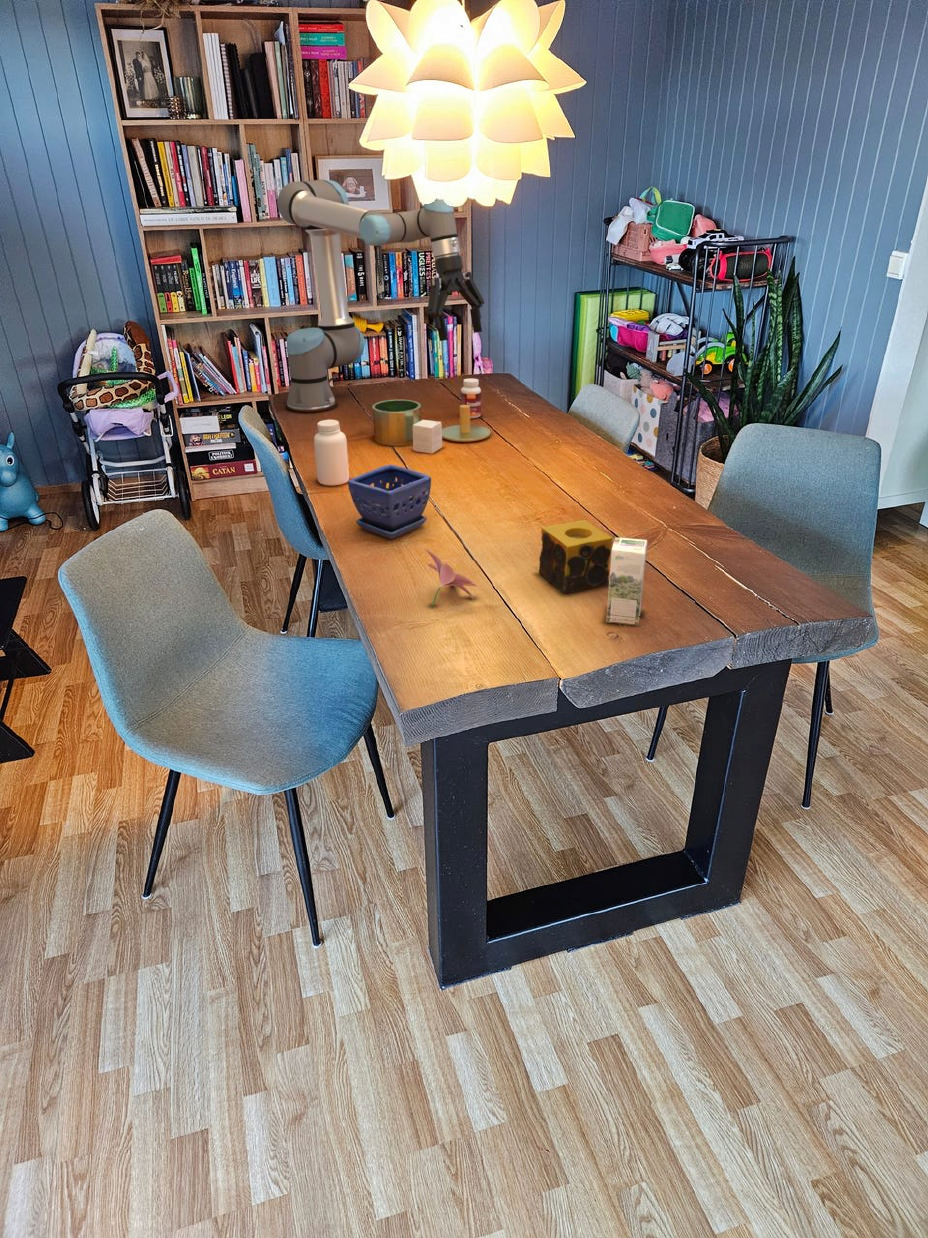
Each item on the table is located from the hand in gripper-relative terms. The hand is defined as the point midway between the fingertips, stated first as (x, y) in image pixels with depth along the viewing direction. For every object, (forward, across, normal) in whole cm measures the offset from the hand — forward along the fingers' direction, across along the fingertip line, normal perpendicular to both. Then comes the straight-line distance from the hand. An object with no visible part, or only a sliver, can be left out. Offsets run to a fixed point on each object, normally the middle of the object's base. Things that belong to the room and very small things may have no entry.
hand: (461, 336), depth 249 cm
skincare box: (+27, -23, -3) cm, 35 cm away
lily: (+41, -80, -70) cm, 114 cm away
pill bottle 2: (+24, +9, +11) cm, 28 cm away
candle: (+44, -58, -81) cm, 109 cm away
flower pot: (+34, -66, -38) cm, 83 cm away
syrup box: (+47, -64, -97) cm, 125 cm away
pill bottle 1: (+26, -56, -4) cm, 62 cm away
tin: (+24, -22, +10) cm, 34 cm away
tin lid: (+26, -7, -2) cm, 27 cm away
